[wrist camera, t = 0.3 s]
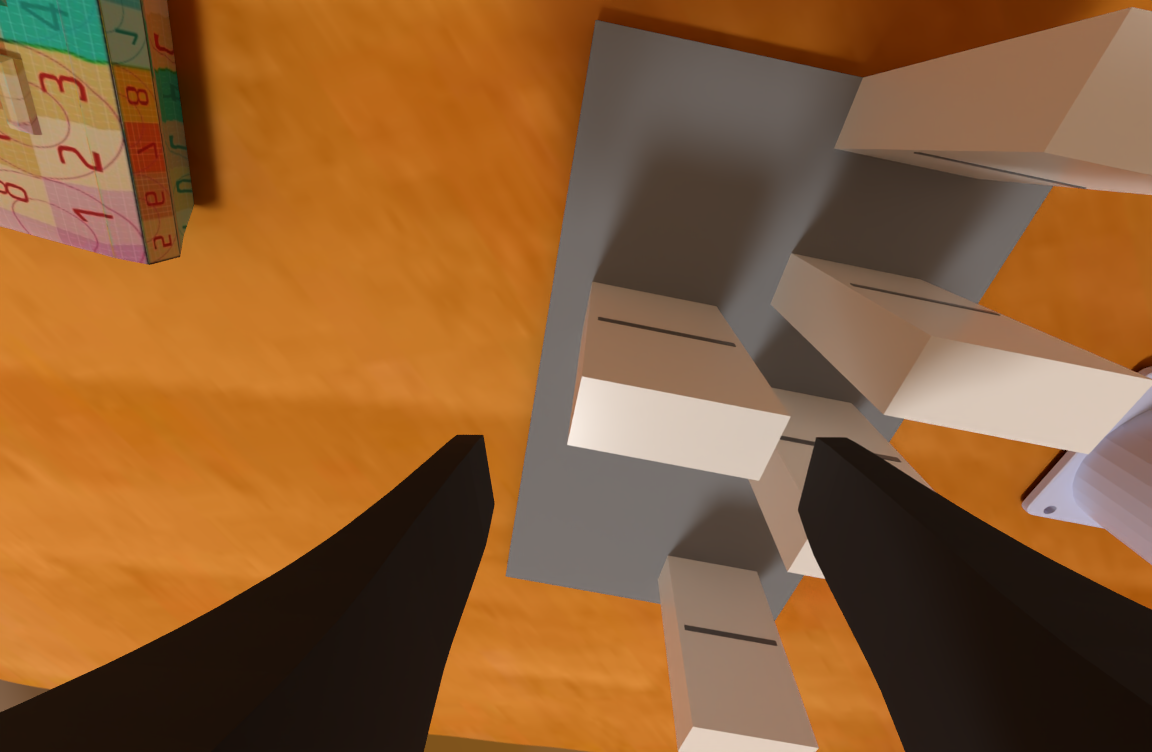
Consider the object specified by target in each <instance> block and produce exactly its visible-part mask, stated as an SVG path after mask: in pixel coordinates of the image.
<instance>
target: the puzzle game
mask: <svg viewBox="0 0 1152 752" xmlns="http://www.w3.org/2000/svg"><path fill="white" fill-rule="evenodd" d="M193 207H194V199H193V191H192V184H191V177H190V169H189V162H188V154H187V147H186V139H185V132H184V124H183V117H182V109H181V102H180V94H179V87H178V79H177V72H176V65H175V57H174V50H173V42H172V35H171V27H170V20H169V12H168V5H167V0H0V226H1V227H5V228H9V229H12V230H16V231H20V232H23V233H27V234H30V235H34V236H38V237H41V238H45V239H49V240H52V241H56V242H59V243H63V244H67V245H70V246H74V247H77V248H81V249H85V250H88V251H92V252H96V253H99V254H103V255H106V256H110V257H114V258H118V259H123V260H129V261H134V262H139V263H144V264H149V265H150V264H154V263H158V262H162V261H166V260H169V259H173V258H177V257H180V254H181V248H182V242H183V236H184V233H185V230H186V227H187V224H188V221H189V218H190V215H191V212H192V210H193Z"/></svg>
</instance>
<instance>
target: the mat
mask: <svg viewBox="0 0 1152 752" xmlns="http://www.w3.org/2000/svg"><path fill="white" fill-rule="evenodd" d="M862 79H863V78H862V77H858V76H853V75H849V74H844V73H839V72H835V71H830V70H825V69H821V68H816V67H812V66H807V65H802V64H798V63H793V62H788V61H784V60H779V59H775V58H770V57H765V56H761V55H756V54H751V53H747V52H742V51H738V50H733V49H728V48H724V47H719V46H714V45H710V44H705V43H701V42H696V41H691V40H687V39H682V38H677V37H673V36H668V35H664V34H659V33H654V32H650V31H645V30H640V29H636V28H631V27H627V26H622V25H617V24H613V23H608V22H603V21H599V20H596V21H595V27H594V34H593V40H592V46H591V52H590V58H589V65H588V71H587V77H586V83H585V89H584V95H583V102H582V108H581V114H580V120H579V126H578V133H577V139H576V145H575V151H574V157H573V163H572V170H571V176H570V182H569V188H568V194H567V200H566V207H565V213H564V219H563V225H562V231H561V238H560V244H559V250H558V256H557V262H556V268H555V275H554V281H553V287H552V293H551V299H550V306H549V312H548V318H547V324H546V330H545V336H544V343H543V349H542V355H541V361H540V367H539V373H538V380H537V386H536V392H535V398H534V404H533V411H532V417H531V423H530V429H529V435H528V441H527V448H526V454H525V460H524V466H523V472H522V479H521V485H520V491H519V497H518V503H517V509H516V516H515V522H514V528H513V534H512V540H511V546H510V553H509V559H508V565H507V571H506V576H507V577H512V578H518V579H524V580H529V581H535V582H541V583H546V584H552V585H557V586H563V587H569V588H574V589H580V590H586V591H591V592H597V593H603V594H608V595H614V596H619V597H625V598H631V599H636V600H642V601H648V602H653V603H659V604H661V602H660V593H659V584H658V578H659V576H660V573H661V571H662V568H663V566H664V563H665V561H666V558H667V556H673V557H679V558H684V559H690V560H696V561H701V562H707V563H712V564H718V565H723V566H729V567H734V568H740V569H745V570H751V571H756V572H757V573H758V576H759V579H760V582H761V585H762V588H763V590H764V593H765V596H766V599H767V602H768V605H769V607H770V610H771V613H772V616H773V619H774V621H775V620H776V618H777V617H778V615H779V613H780V612H781V610H782V609H783V607H784V606H785V604H786V602H787V601H788V599H789V598H790V596H791V595H792V593H793V592H794V590H795V588H796V587H797V585H798V584H799V582H800V581H801V579H802V577H803V576H804V575H802V574H796V573H791V572H787V570H786V567H785V565H784V563H783V560H782V558H781V555H780V553H779V551H778V548H777V546H776V544H775V541H774V539H773V536H772V534H771V532H770V529H769V527H768V525H767V522H766V520H765V518H764V515H763V513H762V510H761V508H760V506H759V503H758V501H757V499H756V496H755V494H754V491H753V489H752V487H751V484H750V482H749V480H748V479H746V478H741V477H736V476H730V475H725V474H720V473H714V472H709V471H704V470H698V469H693V468H688V467H682V466H677V465H672V464H666V463H661V462H656V461H650V460H645V459H640V458H634V457H629V456H624V455H618V454H613V453H608V452H602V451H597V450H592V449H586V448H581V447H576V446H570V445H567V442H568V435H569V427H570V420H571V412H572V405H573V397H574V390H575V382H576V375H577V367H578V360H579V352H580V345H581V337H582V330H583V324H584V320H585V315H586V310H587V305H588V300H589V295H590V290H591V285H592V282H596V283H601V284H607V285H612V286H617V287H622V288H627V289H632V290H637V291H642V292H647V293H652V294H657V295H662V296H667V297H672V298H677V299H682V300H687V301H692V302H697V303H702V304H707V305H712V306H717V308H718V309H719V311H720V312H721V314H722V315H723V317H724V318H725V320H726V321H727V323H728V324H729V326H730V327H731V329H732V330H733V332H734V333H735V335H736V336H737V338H738V339H739V340H740V342H741V343H742V345H743V346H744V348H745V349H746V351H747V352H748V354H749V355H750V357H751V358H752V360H753V361H754V363H755V364H756V366H757V367H758V369H759V370H760V372H761V373H762V375H763V376H764V378H765V379H766V380H767V382H768V383H769V385H770V386H771V388H776V389H781V390H787V391H792V392H797V393H802V394H807V395H812V396H818V397H823V398H828V399H833V400H838V401H843V402H849V403H852V404H853V405H854V406H855V407H856V408H857V409H858V410H859V412H860V413H861V414H862V415H863V416H864V417H865V418H866V419H867V420H868V421H869V422H870V423H871V424H872V425H873V426H874V427H875V428H876V429H877V431H878V432H879V433H880V434H881V435H882V436H883V437H884V438H885V439H886V440H887V441H888V442H890V440H891V438H892V437H893V435H894V434H895V432H896V431H897V429H898V427H899V426H900V424H901V423H902V421H903V420H904V419H903V418H898V417H893V416H887V415H883V414H882V413H881V412H880V411H879V410H878V409H877V408H876V407H875V406H874V405H873V404H872V403H871V402H870V401H869V400H868V399H867V398H866V397H865V396H864V395H863V394H862V393H861V392H860V391H859V390H858V389H857V388H856V387H855V386H854V385H853V384H851V383H850V382H849V381H848V380H847V379H846V378H845V377H844V376H843V375H842V374H841V373H840V372H839V371H838V370H837V369H836V368H835V367H834V366H833V365H832V364H831V363H830V362H829V361H828V360H827V359H826V358H825V357H824V356H823V355H822V354H821V353H820V352H819V351H818V350H817V349H816V348H815V347H814V346H813V345H812V344H811V343H810V342H809V341H808V340H807V339H805V338H804V337H803V336H802V335H801V334H800V333H799V332H798V331H797V330H796V329H795V328H794V327H793V326H792V325H791V324H790V323H789V322H788V321H787V320H786V319H785V318H784V317H783V316H782V315H781V314H780V313H779V312H778V311H777V310H776V309H775V308H774V307H773V306H772V305H771V301H772V299H773V297H774V294H775V292H776V289H777V287H778V284H779V282H780V279H781V277H782V275H783V272H784V270H785V267H786V265H787V262H788V260H789V257H790V255H791V253H793V254H797V255H802V256H807V257H812V258H817V259H822V260H827V261H832V262H837V263H842V264H847V265H852V266H857V267H861V268H866V269H871V270H876V271H881V272H886V273H891V274H896V275H901V276H906V277H911V278H916V279H921V280H923V281H925V282H928V283H930V284H932V285H935V286H937V287H939V288H942V289H944V290H946V291H949V292H951V293H953V294H956V295H958V296H960V297H963V298H965V299H967V300H970V301H972V302H974V303H976V304H978V303H979V301H980V299H981V298H982V296H983V295H984V293H985V292H986V290H987V288H988V287H989V285H990V284H991V282H992V281H993V279H994V278H995V276H996V274H997V273H998V271H999V270H1000V268H1001V267H1002V265H1003V263H1004V262H1005V260H1006V259H1007V257H1008V256H1009V254H1010V253H1011V251H1012V249H1013V248H1014V246H1015V245H1016V243H1017V242H1018V240H1019V238H1020V237H1021V235H1022V234H1023V232H1024V231H1025V229H1026V228H1027V226H1028V224H1029V223H1030V221H1031V220H1032V218H1033V217H1034V215H1035V213H1036V212H1037V210H1038V209H1039V207H1040V206H1041V204H1042V203H1043V201H1044V199H1045V198H1046V196H1047V195H1048V193H1049V192H1050V190H1051V188H1052V187H1053V186H1050V185H1039V184H1028V183H1017V182H1007V181H996V180H985V179H976V178H971V177H967V176H962V175H957V174H952V173H948V172H943V171H938V170H933V169H929V168H924V167H919V166H914V165H910V164H905V163H900V162H895V161H891V160H886V159H881V158H876V157H872V156H867V155H862V154H857V153H853V152H848V151H843V150H839V149H834V147H835V145H836V142H837V140H838V138H839V135H840V133H841V130H842V128H843V125H844V123H845V120H846V118H847V116H848V113H849V111H850V108H851V106H852V103H853V101H854V98H855V96H856V93H857V91H858V89H859V86H860V84H861V81H862Z"/></svg>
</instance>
